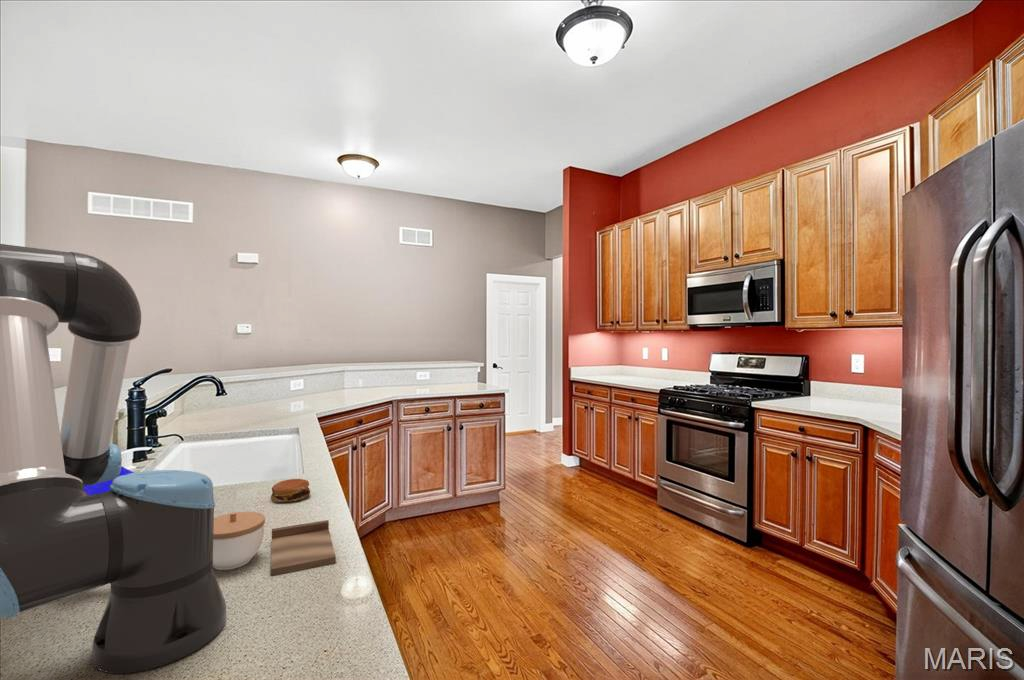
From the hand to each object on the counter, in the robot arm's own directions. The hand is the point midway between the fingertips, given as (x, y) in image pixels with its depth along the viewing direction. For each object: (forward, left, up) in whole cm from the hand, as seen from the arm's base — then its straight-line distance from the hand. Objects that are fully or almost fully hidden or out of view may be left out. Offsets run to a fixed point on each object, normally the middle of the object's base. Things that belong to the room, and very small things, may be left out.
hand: (176, 530), depth 85 cm
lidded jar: (0, -10, -7) cm, 12 cm away
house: (+27, +25, -7) cm, 38 cm away
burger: (+36, -9, -7) cm, 38 cm away
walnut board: (+2, -22, -7) cm, 23 cm away
